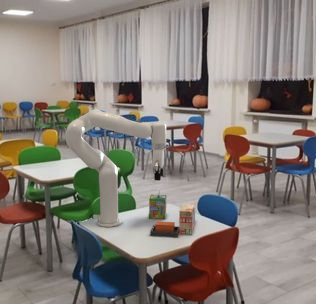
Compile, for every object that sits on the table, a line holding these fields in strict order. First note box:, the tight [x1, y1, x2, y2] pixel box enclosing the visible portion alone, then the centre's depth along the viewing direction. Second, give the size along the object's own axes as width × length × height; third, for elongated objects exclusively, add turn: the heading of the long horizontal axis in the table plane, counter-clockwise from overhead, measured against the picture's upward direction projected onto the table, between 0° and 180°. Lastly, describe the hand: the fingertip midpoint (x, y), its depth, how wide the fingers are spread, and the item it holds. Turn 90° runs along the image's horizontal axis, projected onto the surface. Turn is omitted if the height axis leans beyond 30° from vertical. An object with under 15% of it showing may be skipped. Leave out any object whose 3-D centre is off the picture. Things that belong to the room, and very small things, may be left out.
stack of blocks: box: [178, 203, 196, 236], centre depth 218 cm, size 21×6×12 cm, turn 168°
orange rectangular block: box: [154, 220, 175, 233], centre depth 210 cm, size 9×5×4 cm, turn 79°
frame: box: [149, 224, 180, 238], centre depth 211 cm, size 14×10×2 cm
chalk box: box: [148, 190, 168, 220], centre depth 235 cm, size 9×9×15 cm
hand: (158, 178), depth 223 cm, fingers open, 9 cm apart
